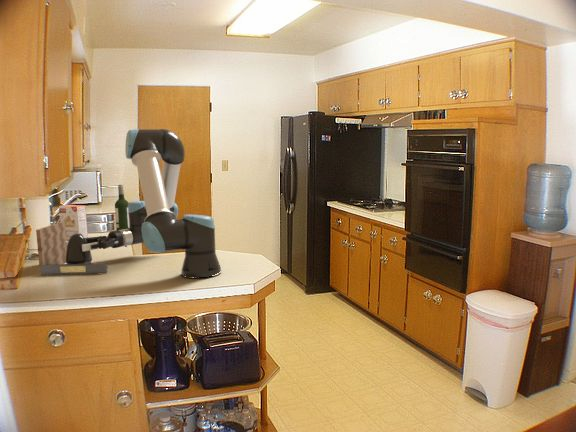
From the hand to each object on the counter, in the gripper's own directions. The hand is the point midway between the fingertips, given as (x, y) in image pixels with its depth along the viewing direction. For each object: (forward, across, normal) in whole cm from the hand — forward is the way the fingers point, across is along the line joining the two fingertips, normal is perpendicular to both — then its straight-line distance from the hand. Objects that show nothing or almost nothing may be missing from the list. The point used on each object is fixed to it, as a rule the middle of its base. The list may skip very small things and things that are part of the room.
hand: (73, 246), depth 208 cm
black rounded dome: (-2, 0, -10) cm, 10 cm away
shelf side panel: (+2, +14, -10) cm, 17 cm away
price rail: (+4, -6, -10) cm, 12 cm away
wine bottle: (-60, +57, -10) cm, 83 cm away
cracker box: (-32, +60, -10) cm, 68 cm away
